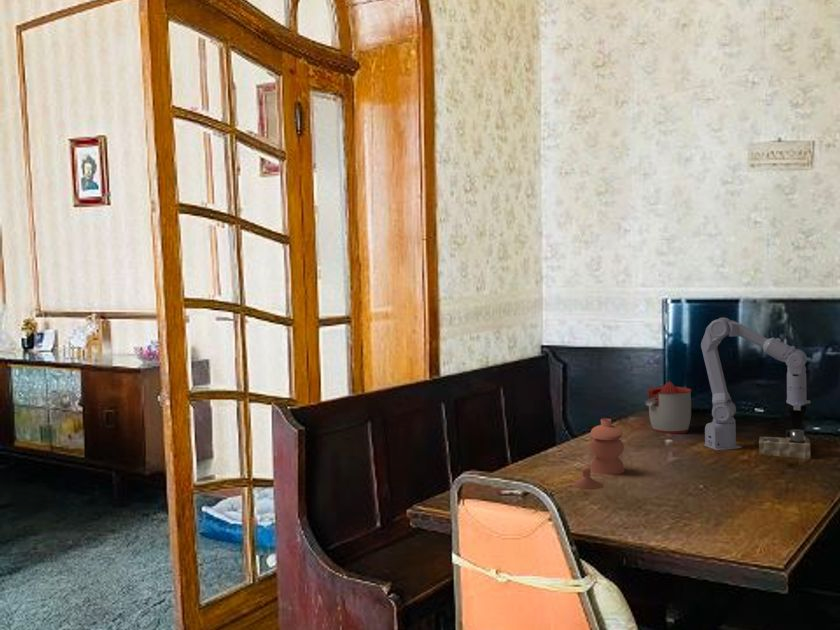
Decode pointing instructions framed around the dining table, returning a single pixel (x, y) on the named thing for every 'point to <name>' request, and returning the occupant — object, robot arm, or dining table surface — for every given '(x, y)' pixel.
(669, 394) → the citrus juicer
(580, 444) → the dining table surface
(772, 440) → the steel peg
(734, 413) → the robot arm
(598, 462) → the ceramic vessels
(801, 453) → the press block
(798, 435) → the steel peg
